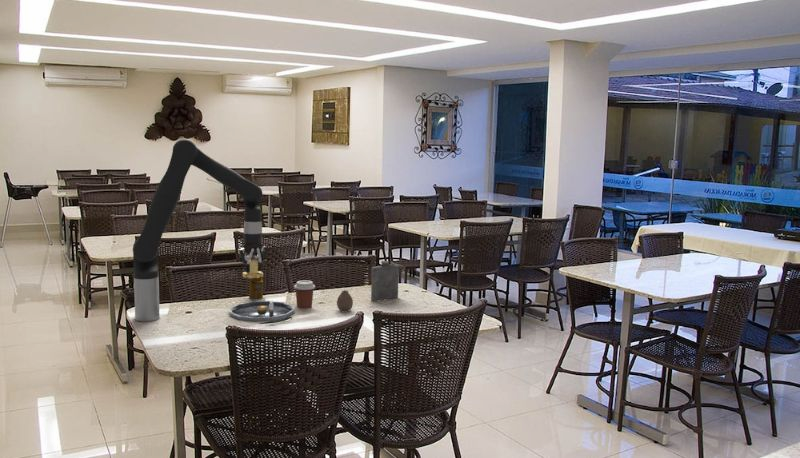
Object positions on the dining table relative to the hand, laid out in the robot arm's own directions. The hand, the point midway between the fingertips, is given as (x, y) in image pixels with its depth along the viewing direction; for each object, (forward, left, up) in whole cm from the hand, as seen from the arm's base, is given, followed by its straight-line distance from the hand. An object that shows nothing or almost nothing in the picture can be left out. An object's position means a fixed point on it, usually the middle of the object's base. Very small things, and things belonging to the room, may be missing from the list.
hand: (252, 271), depth 276 cm
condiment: (-15, +11, -18) cm, 25 cm away
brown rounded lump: (+23, +32, -18) cm, 43 cm away
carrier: (+7, 0, -17) cm, 19 cm away
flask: (+19, +59, -18) cm, 64 cm away
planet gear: (0, 0, -2) cm, 2 cm away
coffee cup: (+10, +20, -18) cm, 28 cm away
